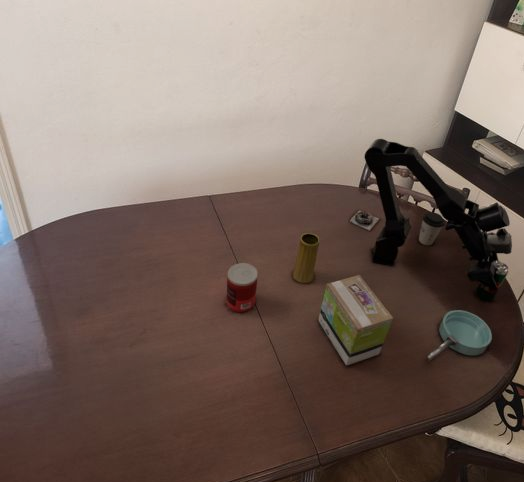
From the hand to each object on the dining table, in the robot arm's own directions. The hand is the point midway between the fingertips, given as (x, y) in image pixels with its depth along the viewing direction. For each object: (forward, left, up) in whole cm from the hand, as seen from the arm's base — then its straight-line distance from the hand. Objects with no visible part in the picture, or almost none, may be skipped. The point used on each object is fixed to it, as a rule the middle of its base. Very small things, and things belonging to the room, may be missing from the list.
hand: (497, 279), depth 130 cm
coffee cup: (-15, +22, -7) cm, 28 cm away
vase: (-54, -4, -7) cm, 54 cm away
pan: (-10, -17, -7) cm, 21 cm away
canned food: (-70, -18, -7) cm, 73 cm away
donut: (-35, +28, -7) cm, 46 cm away
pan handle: (-18, -25, -5) cm, 31 cm away
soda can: (-1, 0, -7) cm, 8 cm away
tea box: (-41, -24, -7) cm, 48 cm away
